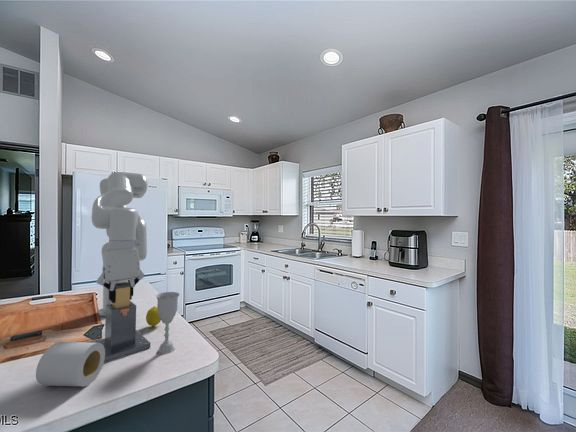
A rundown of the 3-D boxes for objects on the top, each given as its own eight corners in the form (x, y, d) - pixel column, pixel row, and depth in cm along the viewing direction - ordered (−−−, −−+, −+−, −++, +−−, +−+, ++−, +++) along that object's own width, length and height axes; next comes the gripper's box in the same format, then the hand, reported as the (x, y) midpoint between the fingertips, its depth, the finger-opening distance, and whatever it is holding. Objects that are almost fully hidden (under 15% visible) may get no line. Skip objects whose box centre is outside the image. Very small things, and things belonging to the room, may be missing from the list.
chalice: (182, 346, 90) (184, 293, 90) (167, 356, 83) (168, 299, 83) (165, 342, 92) (166, 291, 92) (149, 352, 86) (150, 296, 86)
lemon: (155, 330, 102) (155, 309, 101) (142, 328, 103) (143, 308, 103) (164, 324, 107) (165, 304, 107) (152, 323, 108) (153, 303, 108)
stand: (89, 347, 88) (90, 304, 88) (136, 333, 98) (136, 296, 98) (100, 363, 79) (101, 316, 78) (150, 347, 89) (151, 305, 89)
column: (110, 341, 88) (112, 284, 88) (125, 337, 91) (126, 281, 91) (114, 345, 85) (116, 286, 85) (129, 341, 89) (130, 284, 88)
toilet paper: (35, 394, 65) (36, 353, 65) (68, 370, 75) (69, 335, 75) (76, 395, 65) (77, 354, 65) (104, 371, 75) (105, 336, 75)
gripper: (145, 242, 97) (144, 293, 97) (88, 245, 85) (87, 303, 85) (153, 244, 92) (152, 297, 92) (94, 248, 80) (93, 309, 80)
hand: (121, 299), depth 88 cm, fingers closed on column, 4 cm apart
